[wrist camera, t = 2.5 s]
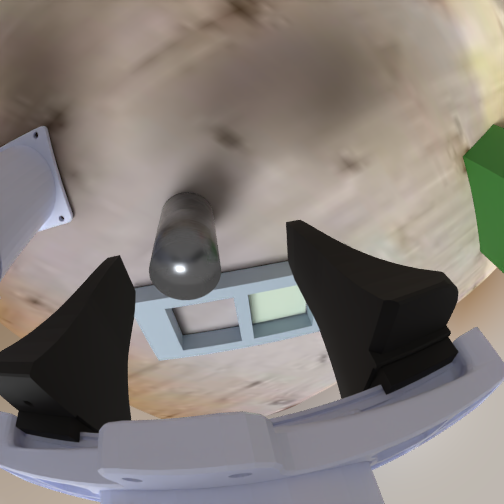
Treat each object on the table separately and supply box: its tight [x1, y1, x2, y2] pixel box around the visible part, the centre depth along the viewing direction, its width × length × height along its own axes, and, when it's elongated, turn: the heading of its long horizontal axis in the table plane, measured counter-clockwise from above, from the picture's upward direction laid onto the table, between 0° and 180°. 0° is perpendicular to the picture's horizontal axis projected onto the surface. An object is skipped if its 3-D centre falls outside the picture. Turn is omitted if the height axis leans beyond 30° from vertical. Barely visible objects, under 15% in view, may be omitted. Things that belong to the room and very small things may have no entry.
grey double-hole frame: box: [134, 261, 320, 360], centre depth 26 cm, size 19×8×2 cm, turn 95°
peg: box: [149, 192, 221, 300], centre depth 18 cm, size 4×4×7 cm
